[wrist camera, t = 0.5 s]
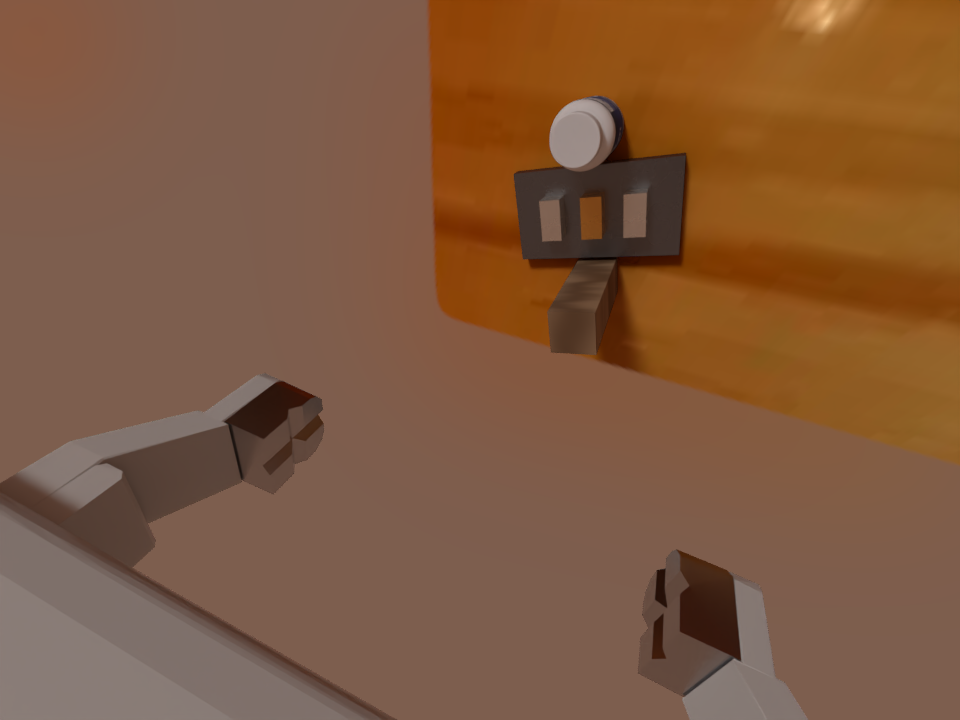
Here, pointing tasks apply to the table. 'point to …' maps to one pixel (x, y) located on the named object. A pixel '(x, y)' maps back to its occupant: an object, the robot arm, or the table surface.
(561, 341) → the walnut post
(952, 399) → the table surface
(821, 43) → the table surface
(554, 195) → the breaker strip
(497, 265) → the table surface
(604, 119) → the pill bottle
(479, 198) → the table surface
